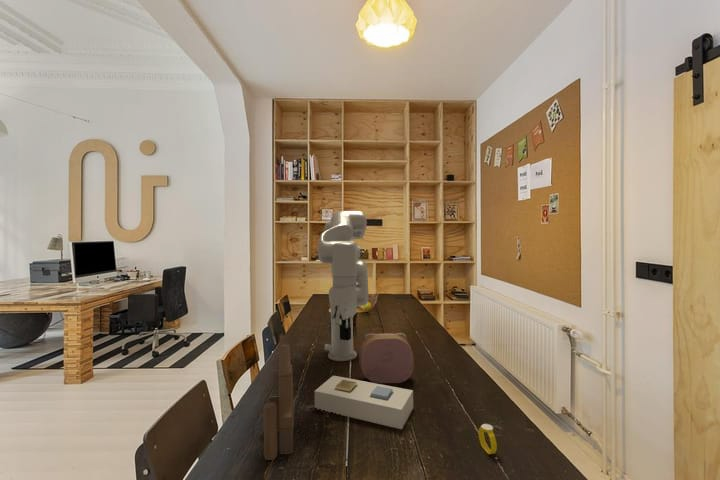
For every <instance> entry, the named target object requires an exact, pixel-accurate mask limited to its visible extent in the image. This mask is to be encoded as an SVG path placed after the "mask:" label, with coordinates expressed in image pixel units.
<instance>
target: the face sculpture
mask: <svg viewBox="0 0 720 480" xmlns="http://www.w3.org/2000/svg"><path fill="white" fill-rule="evenodd" d="M363 338H364V339H363V342H362V344H361V346H360V348H359V354H358V358H359V359H358V360H359V361H358V363H359V367H360V369H361V372H362V374H363V376H364V377H365V378H366V379H367V380H368V381H370V382H371V383H376V384H402V383H405V382H406V381H407V380H408V379H409V378H410V376H411V374H413V372H414V352H413V350H412V347H411V345H410V343H409V342H408V339H407V338H408V337H407V334H405V333H402V332H400V333H399V332H398V333H386V332H385V333H367V334H365V335H364V337H363Z"/></svg>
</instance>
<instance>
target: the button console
mask: <svg viewBox="0 0 720 480" xmlns="http://www.w3.org/2000/svg"><path fill="white" fill-rule="evenodd" d="M342 380H348V381H353V382H357V387H356V388H355V389H354V390H353V391H352V392H351V393H348V392H343V391H338V390H336V385H337V384H338V383H340V382H341V381H342ZM377 386H380V387H385V388H390V389H392V395H391V397H390V398H389V400H388V401H386V400H382V399H377V398H372V397H371V393H372V391H373V390H374V389H375V388H376V387H377ZM315 408H317V409H316V410H319V409H321V410H320V411H323V410H325V411H324V412H327V411H328V413H331V412H333V414H335V413H336V415H339V414H340V416H344V417H348V418H352V419H357V420H360V421H361V420H362V421H365V422H370V423H374V424H376V425H377V424H378V425H382V426H387V427H389V428H390V427H391V428H394V429H398V430H403V428H404V426H405V424H406V423H407V421H408V419H409V417H410V415H411V414H412V411H413V409H414V390H413V389H408V388H402V387H397V386H391V385H386V384H382V383H374V382H372V381H370V382H369V381H364V380H359V379H354V378H348V377H343V376H339V375H337V376H336V375H332V376H331V377H330V378H328V379H327V380H326V381H325V382H323V383H322V384H321V385H320V386H319V387H317V388H316V389H315V390H314V409H315Z"/></svg>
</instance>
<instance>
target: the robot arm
mask: <svg viewBox="0 0 720 480" xmlns="http://www.w3.org/2000/svg"><path fill="white" fill-rule="evenodd" d="M367 223H368V220H367V217H366V214H365V213H364V212H363V211H362V210H361V211H360V210H339V211H336V212H334V213H333V214H332V215H331V217H330V221H327V222H326V223H325V225H324V231H323V232H322V233H321V234H320V236H319V238H318V242H317V257H318V260H319V262H321V263H322V264H331V277H332V278H331V279H332V286H331V287H330V288H329V290H328V300H329V307H330V328H331V329H330V331H331V335H330V336H331V344H328V343H325V344H324V351H328V354H327V356H328V359H329V360H331V361H333V362H334V361H335V362H347V361H352V360H354V359H356V357H357V356H358V355H357V351H356V350H354V322H353V320H354V316H355V315H356V314H357V311H358V307H363V306H366V305H367V304H368V302H369V278H368V277H369V276H368V273H369V272H368V268H367V263H366V262H365V261H364V260H362V259H360V258H361V257H360V256H361V247H360V245H359V244H358V242H356V241H354V240H361V239H363V238H364V237H365V234H366V229H367Z"/></svg>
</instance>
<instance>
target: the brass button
mask: <svg viewBox="0 0 720 480" xmlns="http://www.w3.org/2000/svg"><path fill="white" fill-rule="evenodd" d="M356 387H357V382H353V381H348V380H342V381H341V382H340V383H338V384H337V385H336V390H338V391H343V392H348V393H351V392H352V391H353V390H354V389H355V388H356Z"/></svg>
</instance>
